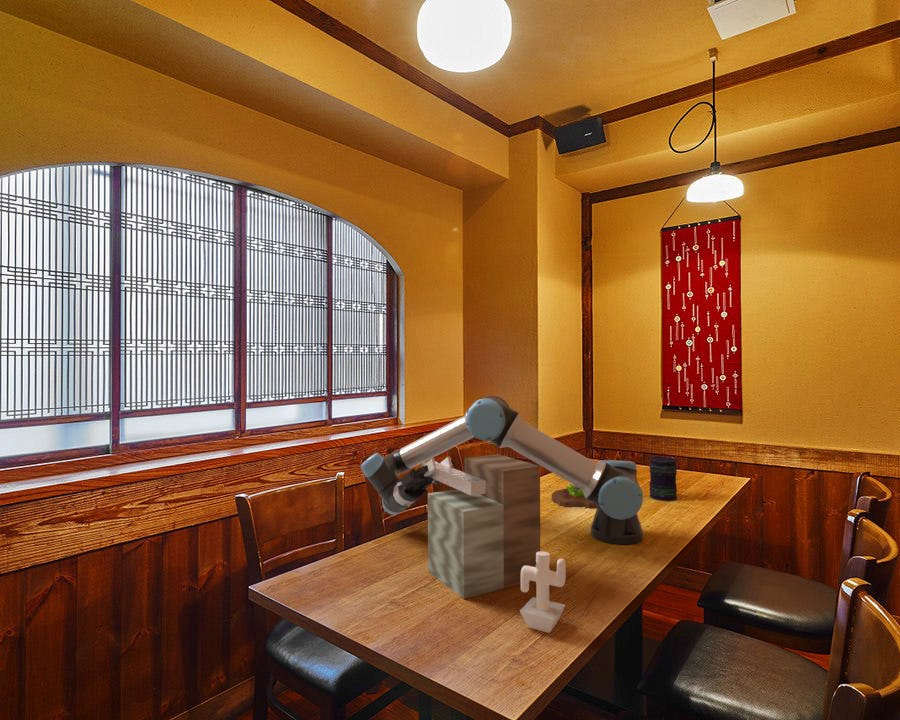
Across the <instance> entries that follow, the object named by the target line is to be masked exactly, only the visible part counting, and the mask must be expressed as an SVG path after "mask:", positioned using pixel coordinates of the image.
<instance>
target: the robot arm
mask: <svg viewBox="0 0 900 720" xmlns="http://www.w3.org/2000/svg"><path fill="white" fill-rule="evenodd" d="M473 438H475V439H478V440H480V441H484V442H490V443H491V444H493V445H495V446H496V447H498V448H500V449H503V448H510V449H512V450H513V451H515V452H517V453H518V454H519V455H522V456H524V457H525V458H527V459H529V460H531V461H532V462H534V463H535V464H536V465H538V466H540V467H542V468H544V469H545V470H548V471H549V472H551V473H553V474H554V475H556V476H558V477H559V478H562V479H563V480H565V482H568V483H569V484H571V485H575V486H577V487H578V488H580V489H582V491H583V493H584V496H585V498H586V499H588V500H590V501H592V502H593V503H595V504H597V508H596V509H595V513H594V516H593V519H592V522H591V525H590V535H591V536H592V537H593V538H594V539H596V540H598V541H600V542H603V543H609V544H615V545H633V544H637V543H640V542H642V541H643V539H644V537H643V535H644V532H643V527H642V525H641V524H642V523H641V521H640V519H639V515H638V512H640V510H641V509H642V506H643V501H644V493H643V489H642V487H641V486H640V484H639V482H638V479H637V478H638V477H637V476H638V475H637V473H638V469H637V464H636V463H635V462H634V461H629V460H617V459H615V460H613V459H603V460H602V459H601V460H598V461H597V462H596V461H593V460H592V459H591V458H589V457H586V456H585V455H583V454H581V453H579V452H578V451H576V450H575V449H572V448H571V447H569V446H567V445H565V444H564V443H562V442H561V441H559V440H556V439H555V438H553V437H551V436H550V435H548V434H546V433H545V432H543V431H541V430H539V429H537V428H535V427H534V426H532V425H530V424H529V423H527V422H524V421H523V418H522V415H521V413H519V412H517V411H516V410H514V409H513V408H511V407H510V405H509V403H508V402H507V401H505V399H503V398H502V397H499V396H497V395H489V396H485V397H483V398H481V399H478V400H476V401H475V402H474V401H473V403H472V404H471V406H470V407H469V409H467V410H466V411H465V413H464V415H463V416H461V417H459V418H457V419H455V420H454V421H453V420H452V421H451V422H449V423H448V424H445V425H443V426H442V427H440V428H438V429H436V430H434V431H432V432H430V433H428V434H426V435H424V436H422V437H421V438H419V439H417V440H414V441H413V442H410V443H409V444H407V445H405V446H403V447H401V448H400V449H397V450H395V451H394V452H391V453H390V454H388V455H386V456H384V457H383V456H382V455H381V453H378V452H375V453H374V454H372V455H371V456H369V457H368V458H367V459H366V460H363V462H362V464H360V470H361V471H362V472H363V474H364V476H365V478H367V480H368V481H369V482H370V484H371V485H372V487H373V488H374V489H375V490H376V491H377V493H378V494H379V497H381V499H382V500H381V504H382V507H383V510H384V511H385V512H386V513H387V514H389V515H398V514H400V513H403V512H404V511H406V509H407V508H409V507H411V505H412V504H414V503H415V502H416V501H418V500H419V499H420V498H421V497H423V496H424V495H425V493H426V491H427V488H428V487H430V486H431V485H432V484H433V483H434V484H435V485H440V484H441V482H440V481H438V480H435V479H433V478H431V477H429V476H428V475H429V474H430V473H431V472H433V471H434V470H435V469H436V468H437V467H436V463H435V461H436V460H435V458H436V456H439V455H440V454H443V453H445V452H447V451H449V450H452V449H453V448H454V447H456V446H457V447H458V446H459V445H461V444H463V443H465V442H467V441H469V440H471V439H473ZM422 462H427V463H426V464H425V465H424V466H422ZM440 463H441V464H444V465H446V466H449V467H451V468H453V463H452V459H451V456H447V457H445V459H443V460H442V461H441V462H440ZM419 465H421V466H420V467H418V468H417V469H415V468H414V467H417V466H419ZM405 472H407V473H406V474H405V475H403V476H402V477H400V478H399V477H398V476H399V475H401V474H403V473H405Z"/></svg>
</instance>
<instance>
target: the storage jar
mask: <svg viewBox="0 0 900 720" xmlns="http://www.w3.org/2000/svg"><path fill="white" fill-rule="evenodd" d="M677 470H678V467H677V458H674V457H673V458H672V457H670V456H669V457H667V456H652V457H651V456H650V458H649V473H650V476H649V477H650V482H649V498H650V499H652V500H655V501H660V502H661V501H662V502H674V500H675V501H677V498H678V497H677V495H678V494H677V493H678V489H677V488H678V487H677V473H678V472H677Z"/></svg>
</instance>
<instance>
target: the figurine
mask: <svg viewBox="0 0 900 720" xmlns="http://www.w3.org/2000/svg"><path fill="white" fill-rule="evenodd" d="M550 562H551V554H550V553H549V552H547V551H544V550H543V551H541V550H540V552H537V553H536V565H535V567H532V566H523V567H522V569H521V584H520V591H521V593H528V592H529V590H530V582H529V581H531V582H535V584H536V586H535V587H536V596H535V597H534V596H532V597H531V598H530V599H529V600H528V602H526V603H525V604H524V606H522V608H521V609H520V610H519V613H520V614H521V616H522V618H523V619H524V621H525V623H526V625H527V627H528V628H529V629H532V630H537V631H539V632H543V633H547V634H550V633H551V632H552V630H553V629H554V628H555V626H556V625H557V623H558V621H559V619H560V618H561V616H562V613H563V611H564V609H565V607H566V604H564V603H560V602H555V601H551V600H550V586H554V587H558V588H562V587H563V586H564V585H565V584H566V574H567V573H566V571H567V570H566V568H567V566H566V564H567V563H566V560H565V559H564V558H558V559H557V561H556V571H554V570H551V569H550Z"/></svg>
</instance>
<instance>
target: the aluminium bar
mask: <svg viewBox="0 0 900 720" xmlns="http://www.w3.org/2000/svg"><path fill="white" fill-rule="evenodd" d="M427 462H428V461H425V462H422V463H421V467H422V466H424V465H425V464H426V463H427ZM435 463H436V467H437V468H436V469H435V470H434V471H433V472H431V473H430V474H429V475H428V476H429V477H431V478H433V479H435V480H438V481H440V483H442V484H444V485H446V486H449V487H451V488H452V489H454V490H455V489H458V490H460V491H462V492H464V493H466V494H469V495H471V496H472V495H478V494H485V493H486V481H485V480H482V479H480V478H477V477H475V476H472V475H470V474H467V473H465V471H461V470H459V469H456V468H454V467H449V466H446V465H444V464H441V462H438V461H436V460H435Z"/></svg>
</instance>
